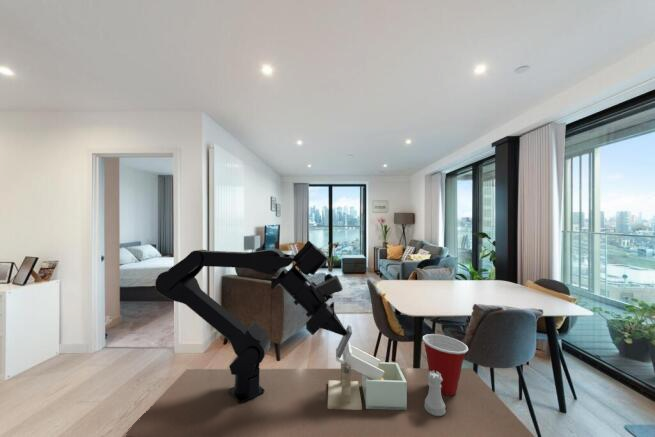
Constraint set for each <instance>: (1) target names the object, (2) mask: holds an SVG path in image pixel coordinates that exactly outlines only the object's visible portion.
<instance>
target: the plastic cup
mask: <svg viewBox="0 0 655 437" xmlns="http://www.w3.org/2000/svg"><path fill="white" fill-rule="evenodd" d="M422 341H423V344H424V349H425V352H426V353H425V354H426V361H427V367H428V368H427V370H428V372H429V371H431V373H432V371H434V373H436V372H439V373H440V374H441V377H442V379H443V381H442V382H441V383H440V384H441V386H442V387H441V395H442V396H443V395H444V396H453V395H455V394H457V391H458V387H459V386H458V385H459V380H460V378H461V372H462V366H463V363H464V360H465V356H466V354H467V353H468V351H469V348H468V345H466V344H465V343H464V342H462V341H460V340H458V339H457V338H454V337H451V336H448V335H443V334H439V333H438V334H437V333H430V334H429V333H427V334H425V335H423V336H422Z"/></svg>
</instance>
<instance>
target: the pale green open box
mask: <svg viewBox="0 0 655 437" xmlns="http://www.w3.org/2000/svg"><path fill="white" fill-rule="evenodd" d="M377 368H379V369H381V370H383V371H384V374H383V376H382V378H383V379H384V380H371V378H369V377H367V376H366V375H364V374H362V373H361V387H362V394H363V399H364V403H365V404H364V405H365V409H367V410H368V409H370V410H398V411H407V408H408V407H407V404H408V403H407V400H408V399H407V398H408V397H407V396H408V394H407V393H408V391H407V388H408V387H407V384H408V382H407V380H406V378H405V376H404V374H403V372H402V369H401V368H400V366H399V364H398V362H383V361H382V362H381V361H380V363H379V365H378V367H377Z"/></svg>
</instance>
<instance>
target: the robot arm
mask: <svg viewBox="0 0 655 437" xmlns="http://www.w3.org/2000/svg"><path fill="white" fill-rule="evenodd" d="M329 260H330V258H329V257H328V255H326V253H325V252H323V250H322V249H320V248H319V247H317V246H316V245H315V244H314V243H312V241H310V240H307V241H306V242H305V243H304V244H303V247H301V249H300V250H299V251H298V252H297V253H296V254H295V255H294V254H288V253H287V254H286V253H284V252H283V251H282V249H278V248H270V249H264V250H256V251H249V252H248V251H247V252H246V251H228V250H227V251H226V250H225V251H224V250H223V251H222V250H220V251H218V250H207V249H198V250H197V249H196V250H193V251H191V252H189V254H188V255H187V256H185V257H184V258H182V260H180V261H179V262H177V263H176V264H174V265H173V266H171V267H170V268H169V269H168V270H166V271H163V272H161V273H159V275H157V277H156V278H155V284H154V285H155V286H154V289H155V291H156V292H157V293H158V294H160V295H161V296H163V297H165V298H167V299H168V300H169V301H174V302H176V303H180V304H183V305H185V306H186V307H188V308H189V309H190V310H192V311H193V312H194V313H196V315H198V316H199V317H200V318H201V319H202V320H204V322H206V323H207V324H209V325H210V326H211V327H213V328H214V330H216V331H217V333H219V334H221V335H222V336H223V337H224V338H226V340H228V341H229V343H230V345H231V347H232V349H233V352H234V354H235V355H236V356H235V358H234V359H233V360H232V362H231V363H230V364H229V367H228V368H229V371H230V374H231V375H233V376H234V385H233V387H230V388H228V393H229V394H230V395H231V396H232V397H233V398H234V399H235V400H236V401H237V402H238V403H239V404H242V403H244V402H246V401H249V400H251V399H253V398H256V397H259V396H260V395H262V394H265V389H264V388H263V387H262V386H261V385H260V380H261V379H260V364H261V363H262V362H263V360H264V359H265V357H266V354H267V353H268V351H269V349H270V347H271V338H270V336H269V335H268V333H267V332H268V331H267V330H266V329H263V328H262V327H261V326H260V324H258V323H257V322H253V323H252V324H251V325H248V324H244V323H243V322H241V321H240V320H239V319H238V318H237V317H235V316H234V315H233V314H232V313H231V312H229V311H228V310H227V309H225V308H224V307H223V306H222V305H221V304H219V303H218V302H217V301H216V300H214V298H212V297H211V296H210V295H209V294H208V293H206V292H205V291H204V290H202V289H201V286H200V284H199V282H198V279H197V278H196V276H197V275H198V274H199V273H200V272H201V271H202V269H203V268H204V267H211V268H212V267H215V268H216V267H217V268H238V269H248V270H251V271H254V272H257V273H261V274H265V275H274V274H276V273H278V272H279V271H281V270H282V271H281V272H279V273H278V275H277V276H272V277H270V290H274V289H275V288H276V287H277V286H278V285H279V286H280V287H281V288H282V289H283V290H284V291H285V292H286V293H287V294H288V295H289V296H290V297H291V298H292V299H293V303H294V305H296V306H297V305H299V306H300V307H301V309H303V310H304V311H305V312H306V313H305V316H306V317H307V318H306V323H305V328H306V330H307V332H308V333H310V334H311V336H314V335H315V334H316V333H317V331H319V330H320V329H322V330H326V331H328V332H331V333H334V334H337V335H340V336H342V337H343V336H345V335H346V333H347V331H346V328H345V326H344V325H343V323H342V322H341V320H340V319H339V317H338V315H337V314H336V311H335V301H332V302H331V303H330V304H329V303H327V302H328V301H329V300H330V299H333V298H334V294H335V293H339V292H341V291H343V286H342V282H341V281H340V279H339V277H338V275H334V276H333V274H331V273H327V274H325V275H324V281H323V280H322V281H321V282H320V283H318V284H317V283H316V282H314V281H310V280H309V279H308V278H307V277H306V276H309V275H311V276H314V275H315V274H316V273H317V272H318V271H319V269H321V268H322V266H324V264H325V263H326V262H327V261H329ZM293 263H294V264H293ZM292 264H293V265H292ZM290 265H292V266H291V267H290V269H289V270H288V269H285V268H287V267H289V266H290ZM283 268H284V269H283Z"/></svg>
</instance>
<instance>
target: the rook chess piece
mask: <svg viewBox="0 0 655 437" xmlns="http://www.w3.org/2000/svg"><path fill="white" fill-rule="evenodd" d="M426 378H427V379H428V384H427V385H428V394H427V395H426V398H425V399H424V408H425V410H426V412H427V413H428V414H430V415H431V416H435V417H441V416H444V415H445V413H446V404H445V402H444V399H443V398H442V396H443V395H442V394H441V387H442V386H441V384H440V383H441V382H442V381H443V379H442V377H441V374H440V373H439V372H436V373H434V371H432V373H431V371H429V370H428V374H427V376H426Z"/></svg>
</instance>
